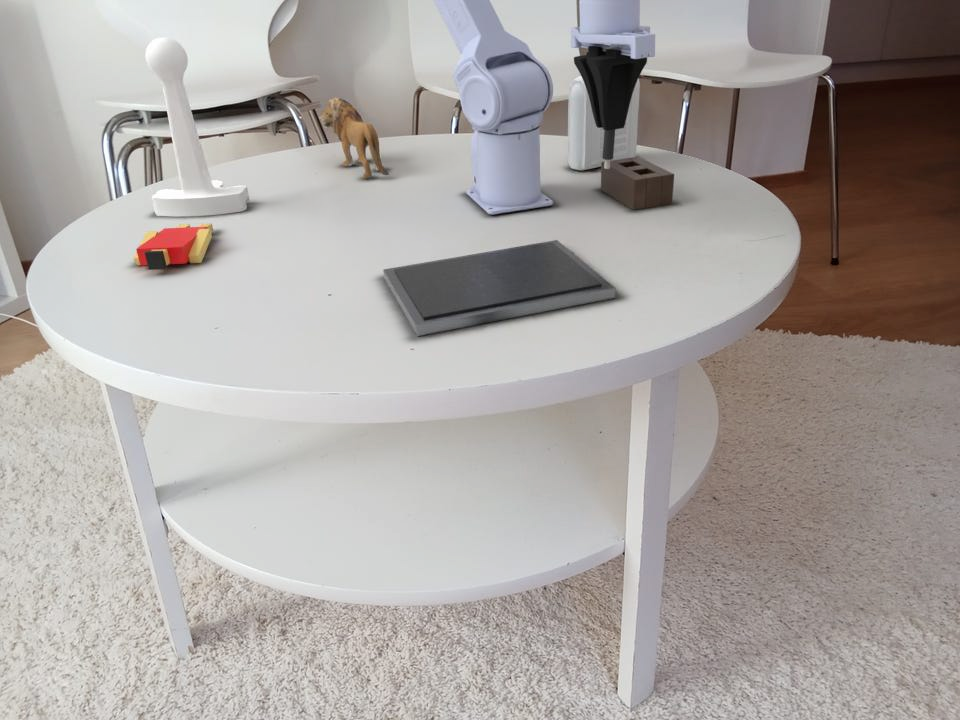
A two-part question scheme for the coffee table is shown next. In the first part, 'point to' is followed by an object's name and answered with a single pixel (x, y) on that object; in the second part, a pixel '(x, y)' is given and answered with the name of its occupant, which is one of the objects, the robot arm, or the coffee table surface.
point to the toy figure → (174, 246)
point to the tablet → (494, 286)
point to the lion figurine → (353, 134)
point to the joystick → (187, 145)
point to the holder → (637, 183)
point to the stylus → (608, 147)
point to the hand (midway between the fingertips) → (610, 127)
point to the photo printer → (597, 130)
